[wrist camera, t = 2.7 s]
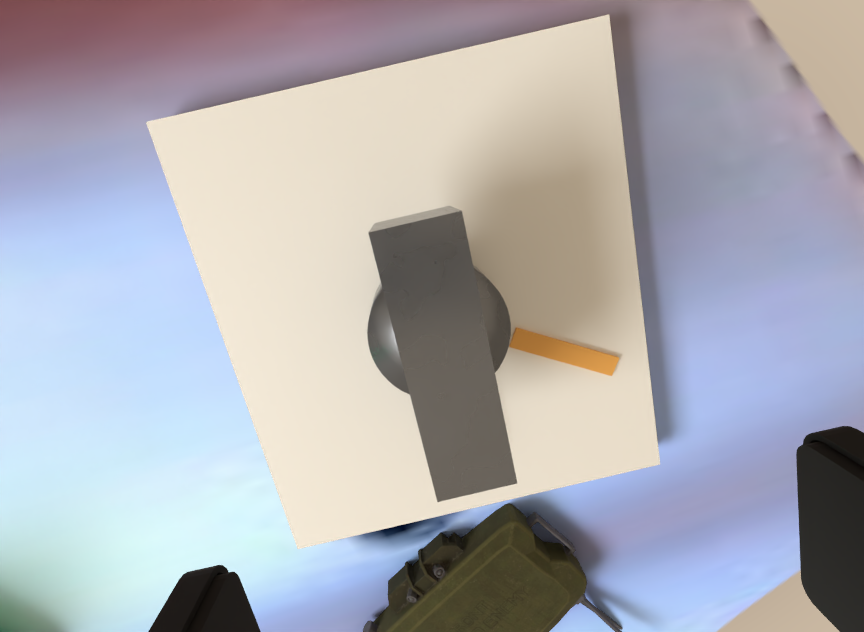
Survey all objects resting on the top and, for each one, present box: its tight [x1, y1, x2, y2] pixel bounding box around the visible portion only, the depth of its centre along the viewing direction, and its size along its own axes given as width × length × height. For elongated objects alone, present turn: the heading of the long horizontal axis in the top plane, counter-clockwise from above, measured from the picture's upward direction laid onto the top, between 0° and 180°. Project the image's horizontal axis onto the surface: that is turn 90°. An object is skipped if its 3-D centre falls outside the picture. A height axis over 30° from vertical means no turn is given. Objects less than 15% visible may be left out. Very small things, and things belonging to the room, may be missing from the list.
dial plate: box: [146, 15, 660, 549], centre depth 24 cm, size 22×20×2 cm
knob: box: [367, 206, 517, 502], centre depth 20 cm, size 13×6×7 cm, turn 13°
